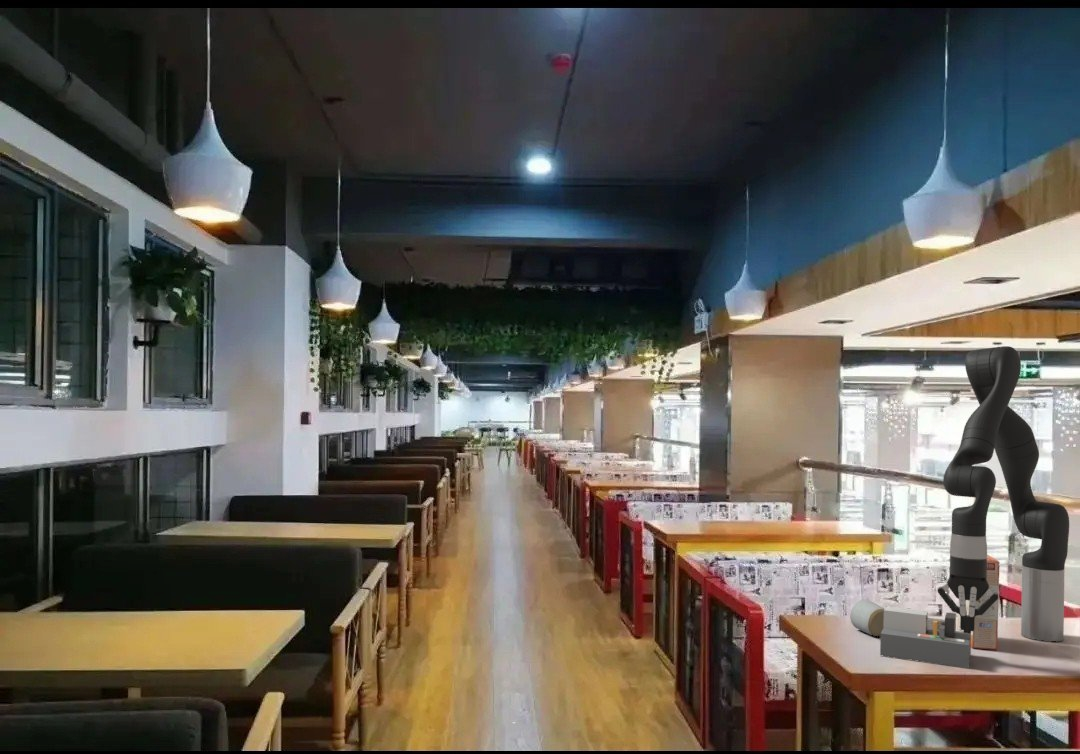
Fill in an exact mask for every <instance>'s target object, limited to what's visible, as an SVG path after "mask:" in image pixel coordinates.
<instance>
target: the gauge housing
mask: <svg viewBox="0 0 1080 754" xmlns="http://www.w3.org/2000/svg"><path fill="white" fill-rule="evenodd" d="M884 608H885V609H884V626H883V630H882V632H881V637H880V643H879V644H880V649H879V651H880V653H879V655H883V656H882V657H886V656H889V657H888V658H893V657H895V658H894V659H899V658H902V659H901V660H906V659H912V660H911V661H913V660H918V661H917V662H920V661H924V662H923V663H927V662H930V663H929V664H934V663H937V664H936V665H941V666H950V667H956V668H964V669H970V668H969V667H970V660H971V654H972V653H971V652H972V651H971V649H972V647H971V634H969V633H964V632H960V631H958V630H956V633H955V637H950V636H945V637H944V638H941V637H939V630H937V636H933V629H928V628H926V618H929V615H928V614H929V612H928V610H921V609H914V608H904V607H896V606H895V607H894V606H888V605H887V606H885V607H884Z"/></svg>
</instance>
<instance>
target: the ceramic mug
mask: <svg viewBox="0 0 1080 754" xmlns="http://www.w3.org/2000/svg"><path fill="white" fill-rule="evenodd" d="M884 609H885V607H883V606H881V605H879V604H877V603H875V602H873V601H871V600H869V599H859V600H858V601H856V602H855V603H854V604H853V606H852V607H851V609H850V612H849V618H850V622H851V624H852V626H853V627H854V628H855V629H857V630H859V631H862V632H863V633H865V634H868V635H870V636H872V635H873V637H876V636H877V637H876V638H879V637H878V636H881V632H882V630H883V626H884Z"/></svg>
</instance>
